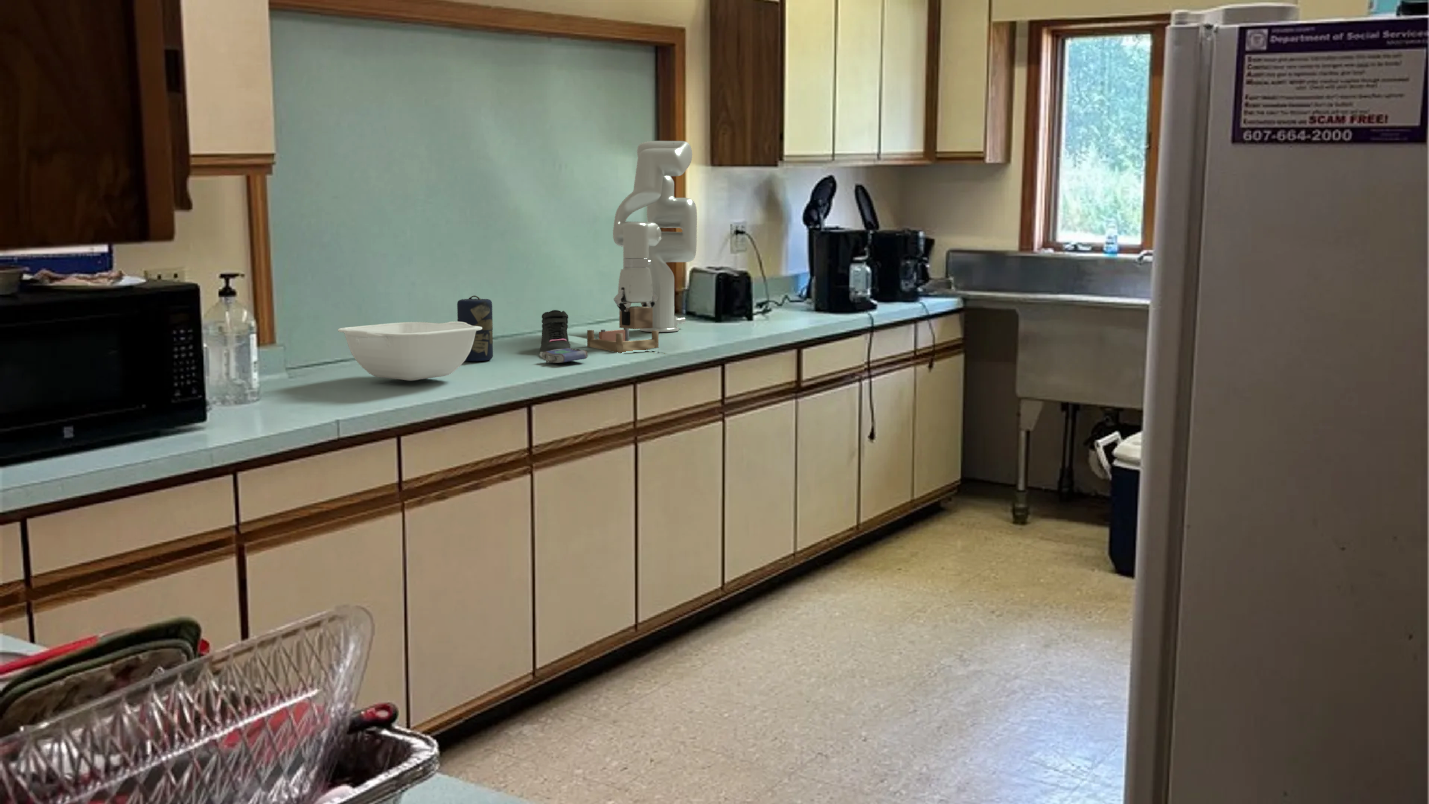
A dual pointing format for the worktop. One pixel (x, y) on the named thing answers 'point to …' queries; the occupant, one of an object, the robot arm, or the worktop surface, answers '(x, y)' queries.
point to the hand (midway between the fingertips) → (636, 324)
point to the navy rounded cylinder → (478, 315)
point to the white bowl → (411, 348)
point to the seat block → (638, 318)
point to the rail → (614, 334)
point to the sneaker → (554, 331)
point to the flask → (564, 355)
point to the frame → (622, 343)
